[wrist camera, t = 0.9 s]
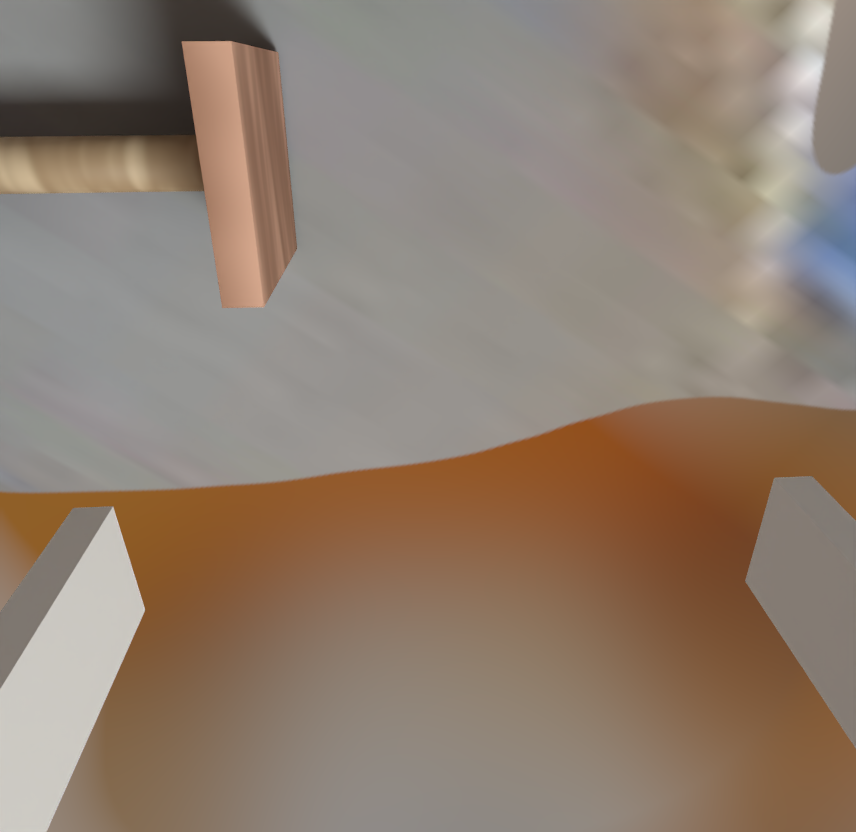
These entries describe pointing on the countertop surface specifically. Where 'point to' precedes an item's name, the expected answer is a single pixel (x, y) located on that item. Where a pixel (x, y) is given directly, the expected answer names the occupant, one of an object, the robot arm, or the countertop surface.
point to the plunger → (194, 165)
